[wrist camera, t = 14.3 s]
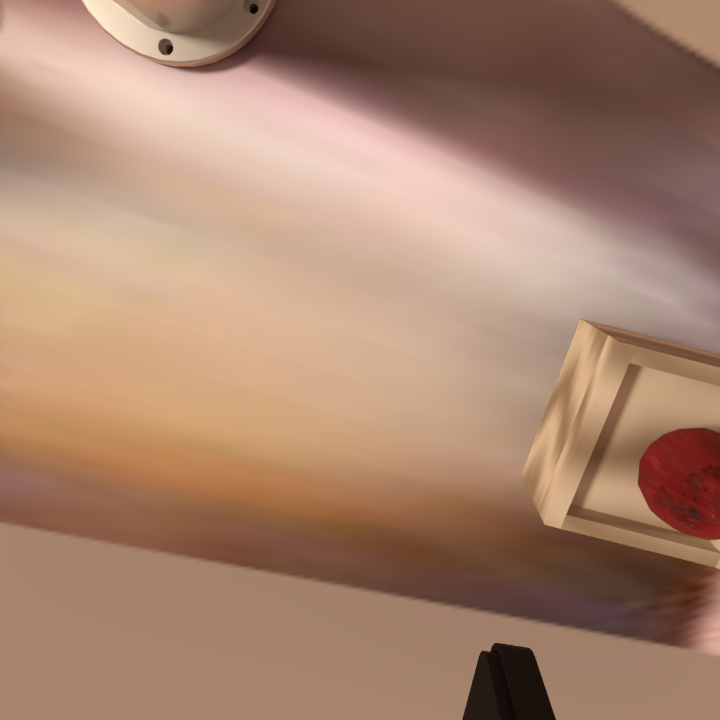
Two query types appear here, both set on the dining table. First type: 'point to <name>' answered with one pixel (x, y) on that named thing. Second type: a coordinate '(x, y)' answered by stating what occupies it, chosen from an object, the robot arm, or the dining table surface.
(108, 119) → the dining table surface
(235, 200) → the dining table surface
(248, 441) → the dining table surface
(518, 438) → the dining table surface
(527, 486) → the beige square hollow tray
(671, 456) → the onion
